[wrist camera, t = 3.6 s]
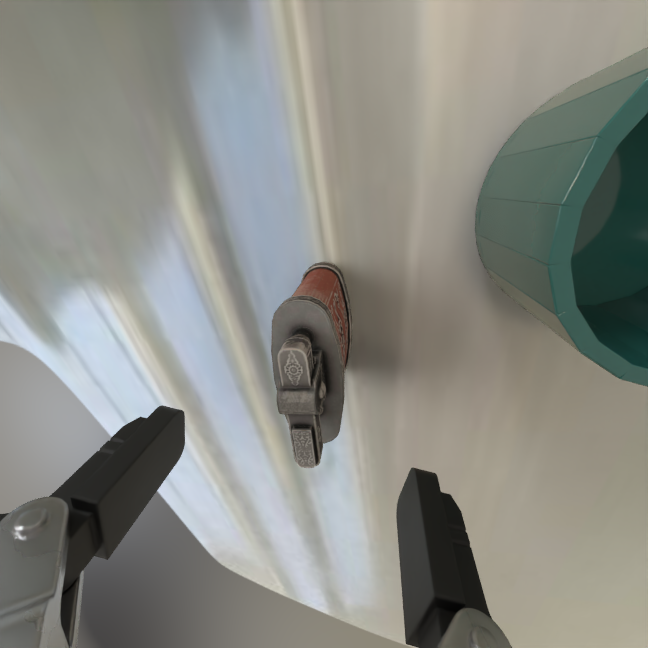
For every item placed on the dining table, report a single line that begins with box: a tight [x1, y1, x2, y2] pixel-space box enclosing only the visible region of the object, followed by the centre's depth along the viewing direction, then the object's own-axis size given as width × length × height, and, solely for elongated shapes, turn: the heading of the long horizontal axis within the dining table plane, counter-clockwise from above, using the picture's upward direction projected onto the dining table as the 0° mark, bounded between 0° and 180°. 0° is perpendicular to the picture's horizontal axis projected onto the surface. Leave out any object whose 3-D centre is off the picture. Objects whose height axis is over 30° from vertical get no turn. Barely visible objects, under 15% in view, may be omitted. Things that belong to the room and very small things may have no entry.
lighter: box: [271, 262, 352, 468], centre depth 17 cm, size 8×3×10 cm, turn 5°
